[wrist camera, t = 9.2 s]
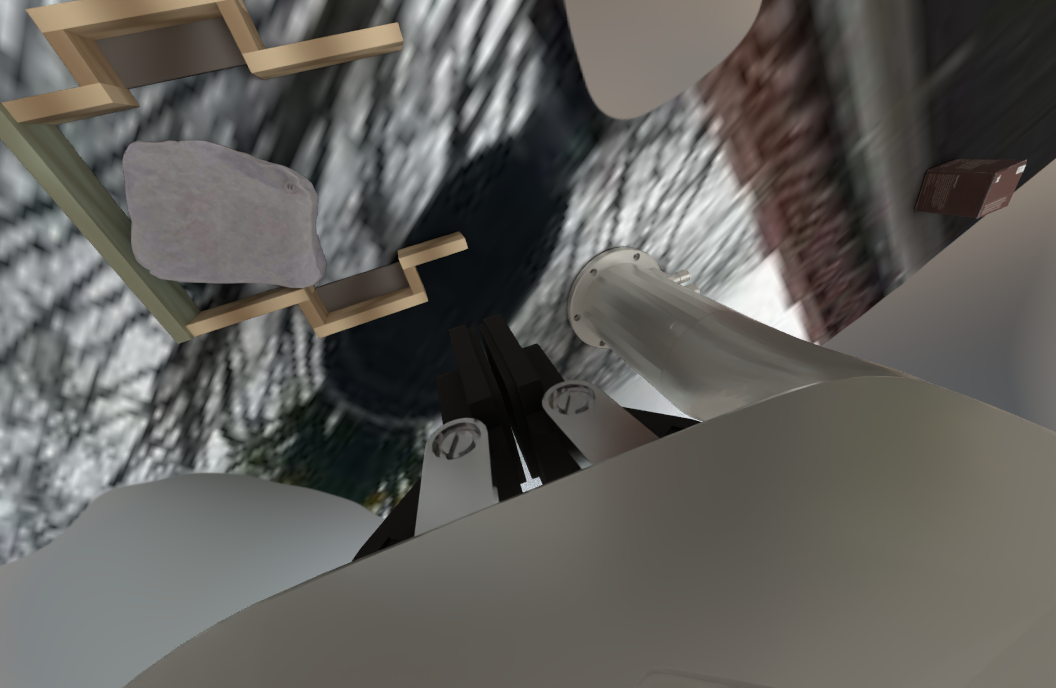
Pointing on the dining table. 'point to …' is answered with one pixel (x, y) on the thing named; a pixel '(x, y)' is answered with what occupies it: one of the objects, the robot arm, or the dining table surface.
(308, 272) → the stone block
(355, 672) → the robot arm
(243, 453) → the dining table surface
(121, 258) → the box
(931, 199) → the box
